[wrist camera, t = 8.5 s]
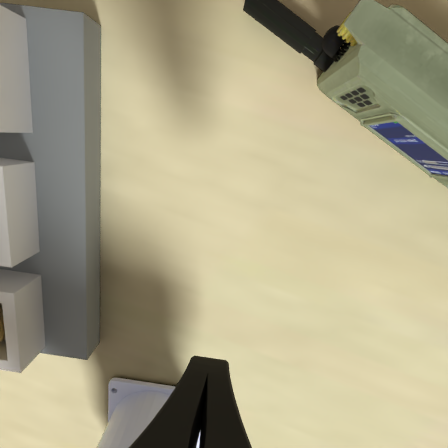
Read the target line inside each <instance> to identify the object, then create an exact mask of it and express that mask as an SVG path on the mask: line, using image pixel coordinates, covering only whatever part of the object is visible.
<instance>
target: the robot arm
mask: <svg viewBox="0 0 448 448" xmlns="http://www.w3.org/2000/svg"><path fill="white" fill-rule="evenodd" d="M114 388H115V389H114ZM97 448H252V447H251V444H250V442H249V439H248V437H247V434H246V431H245V428H244V426H243V423H242V420H241V417H240V414H239V410H238V407H237V404H236V400H235V397H234V393H233V388H232V384H231V379H230V373H229V363H228V362H227V361H226V360H220V359H213V358H207V357H200V356H193V357H192V358H191V360H190V362H189V364H188V366H187V368H186V370H185V372H184V374H183V376H182V377H181V379H180V381H179V383H178V384H177V386H176V387H175V386H169V385H162V384H156V383H149V382H143V381H136V380H129V379H123V378H112V379H111V380H110V382H109V386H108V425H107V427H106V429H105V431H104V433H103V435H102V437H101V439H100V442H99V444H98V446H97Z"/></svg>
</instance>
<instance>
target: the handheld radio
mask: <svg viewBox="0 0 448 448" xmlns="http://www.w3.org/2000/svg"><path fill="white" fill-rule="evenodd" d="M243 10H244V11H245V12H246V13H248V14H249V15H250V16H252V17H253V18H254V19H255V20H257V21H258V22H259V23H261V24H262V25H263V26H265V27H266V28H267V29H269V30H270V31H271V32H273V33H274V34H275V35H276V36H278V37H279V38H280V39H282V40H283V41H284V42H286V43H287V44H288V45H290V46H291V47H292V48H293V49H295V50H296V51H297V52H299V53H301V52H302V53H303V54H304V55H305V56H307V57H308V58H309V59H311V60H312V61H313V62H314V65H316V66H317V67H318V68H320V69H321V70H322V71H323V73H322V74H321V76H320V77H319V78H318V81H317V86H318V87H319V89H320V90H321V91H322V92H323V93H324V94H325V95H326V96H327V97H329V98H330V99H331V100H333V101H334V102H335V103H337V104H338V105H339V106H340V107H342V108H343V109H344V110H346V111H347V112H348V113H350V114H351V115H352V116H354V117H355V118H356V119H357V120H359V121H360V123H361V125H362V126H364V127H365V128H367V129H368V130H369V131H371V132H372V133H373V134H375V135H376V136H377V137H379V138H380V139H381V140H383V141H384V142H385V143H387V144H388V145H389V146H391V147H392V148H393V149H395V150H396V151H397V152H399V153H400V154H401V155H403V156H404V157H405V158H407V159H408V160H409V161H411V162H412V163H413V164H415V165H416V166H417V167H419V168H420V169H421V170H423V171H424V172H425V173H427V174H428V175H429V176H430V177H434V178H435V179H436V180H437V181H439V182H440V183H442V184H443V185H444V186H446V187H447V188H448V43H447V42H446V41H444V40H443V39H442V38H441V37H440V36H438V35H437V34H436V33H435V32H433V31H432V30H431V29H430V28H429V27H427V26H426V25H425V24H424V23H423V22H421V21H420V20H419V19H418V18H416V17H415V16H414V15H413V14H412V13H410V12H409V11H408V10H407V9H405V8H403V7H402V6H399V5H390V6H389V7H388V8H386V7H384V6H383V5H381V4H379V3H378V2H376V1H374V0H360V1H359V2H358V4H357V5H356V6H355V8H354V9H353V11H352V12H350V13H349V15H348V16H347V17H346V19H345V20H344V21H343V23H342V24H341V26H334V27H332V28H331V29H329V30H328V31H327V33H326V34H325V36H324V38H322V37H321V36H320V35H319V34H317V33H316V32H315V31H316V30H315V29H314V28H312V27H311V26H310V25H308V24H307V23H306V22H305V21H303V20H302V19H301V18H299V17H298V16H297V15H296V14H294V13H293V12H292V11H291V10H289V9H288V8H287V7H285V6H284V5H283V4H282V3H280V2H279V1H278V0H245V4H244V8H243ZM345 41H346V43H345ZM340 47H341V49H340Z"/></svg>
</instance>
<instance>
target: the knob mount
mask: <svg viewBox="0 0 448 448" xmlns="http://www.w3.org/2000/svg"><path fill="white" fill-rule="evenodd" d="M100 131H101V26H100V25H99V24H98V23H96V22H95V21H94V20H93V19H91V18H90V17H89V16H87V15H86V14H85V13H83V12H74V11H66V10H58V9H49V8H41V7H33V6H24V5H16V4H8V3H0V303H2V309H3V319H4V328H5V339H4V340H3V341H2V342H1V343H0V370H6V371H12V372H19V373H21V372H22V371H23V370H24V369H25V368H26V367H27V366H28V365H29V364H30V363H31V362H32V360H33V359H34V358H35V357H36V356H37V355H38V354H39V353H45V354H51V355H58V356H65V357H71V358H78V359H84V360H87V359H88V358H89V356H90V355H91V354H92V352H93V351H94V349H95V348H96V346H97V345H98V344H99V342H100Z"/></svg>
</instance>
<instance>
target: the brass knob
mask: <svg viewBox="0 0 448 448" xmlns="http://www.w3.org/2000/svg"><path fill="white" fill-rule="evenodd" d="M4 339H5V328H4V319H3V309H2V303H0V343H1V342H2V341H3V340H4Z"/></svg>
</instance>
